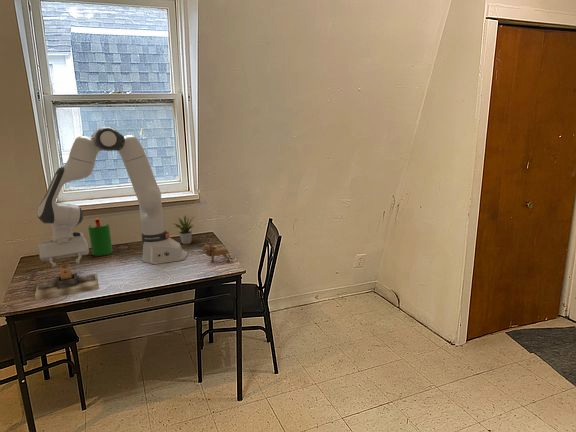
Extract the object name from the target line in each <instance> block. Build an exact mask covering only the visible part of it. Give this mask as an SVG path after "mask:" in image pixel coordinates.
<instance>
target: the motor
mask: <svg viewBox="0 0 576 432" xmlns="http://www.w3.org/2000/svg"><path fill="white" fill-rule="evenodd" d="M87 227H88V233H89V241H90V246H91V254H92V256H94V257H98V256H99V257H100V256H107V255H110V254H112V253H113V244H112V237H111V231H110V224H109V223H106V224H105V225H101V221H100V218H99V217H98V218H97V217H96V218H95V226H94V227H93V226H92V225H91V224H89V225H88V226H87Z"/></svg>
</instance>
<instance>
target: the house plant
mask: <svg viewBox="0 0 576 432" xmlns="http://www.w3.org/2000/svg"><path fill="white" fill-rule="evenodd" d="M195 217H196V215H194V216H193V217H191V216H189V217H188V218H187V215H186V214H185V215H184V216H183V218H181V217H175V219H174V220H175V221H176V222H177V223H175V222H172V224H173V225H175V226H174V227H173V229H174V228H178V229H180V231H179V233H178V234H179V239H180V240H181V244H182V243H183V245H189V244H191V243H192V234H193V231H192V230H190V229H192V228H194V225H193V224H191V223H192V222H193V221H194V220H195V219H194V218H195ZM190 218H191V219H190ZM176 219H177V220H178V221H177V220H176ZM189 219H190V220H189Z"/></svg>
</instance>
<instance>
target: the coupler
mask: <svg viewBox="0 0 576 432" xmlns="http://www.w3.org/2000/svg"><path fill="white" fill-rule="evenodd" d="M59 273H60V275H59V276H61V280H62V281H64V280H69V279H73V278H72V274H73V273H72V267H71V264H65V265H60V266H59Z"/></svg>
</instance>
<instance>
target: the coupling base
mask: <svg viewBox="0 0 576 432" xmlns="http://www.w3.org/2000/svg"><path fill="white" fill-rule="evenodd" d="M55 278H56V279H53V281H47V282H42V283H37V286H36V289H35V294H34V300H35V301H41V300H46V299H49V298H51V299H52V298H55V297H61V296H65V295H66V296H67V295H71V294H72V295H73V294H77V293H82V292H88V291H93V290H97V289H98V290H99V289H100V286H99V278H98V273H92V274H87V275H86V274H85V275H81V276H80V275H79V274H78V273H75V272H74V273H72V278H73V279H69V280H64V281H62V280H61V275H58V276H56V277H55Z"/></svg>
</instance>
